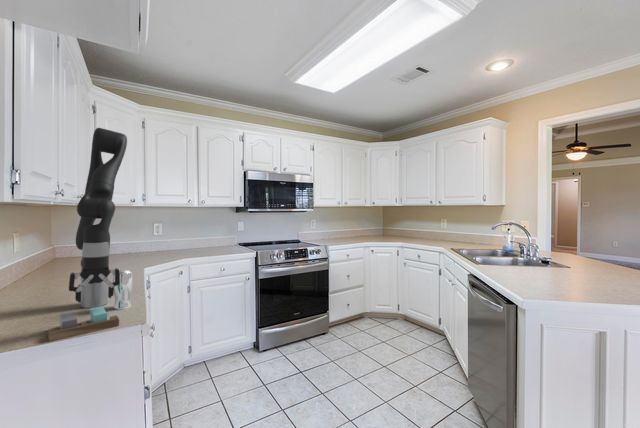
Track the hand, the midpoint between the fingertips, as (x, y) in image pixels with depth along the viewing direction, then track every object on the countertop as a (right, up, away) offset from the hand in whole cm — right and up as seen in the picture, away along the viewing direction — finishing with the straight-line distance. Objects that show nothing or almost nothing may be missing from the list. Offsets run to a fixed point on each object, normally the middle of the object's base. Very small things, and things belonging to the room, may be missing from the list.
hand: (95, 299), depth 102 cm
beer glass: (-3, -9, +18) cm, 20 cm away
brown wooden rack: (+1, -9, -6) cm, 11 cm away
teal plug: (+1, -9, 0) cm, 9 cm away
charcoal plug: (-5, -9, -6) cm, 12 cm away
